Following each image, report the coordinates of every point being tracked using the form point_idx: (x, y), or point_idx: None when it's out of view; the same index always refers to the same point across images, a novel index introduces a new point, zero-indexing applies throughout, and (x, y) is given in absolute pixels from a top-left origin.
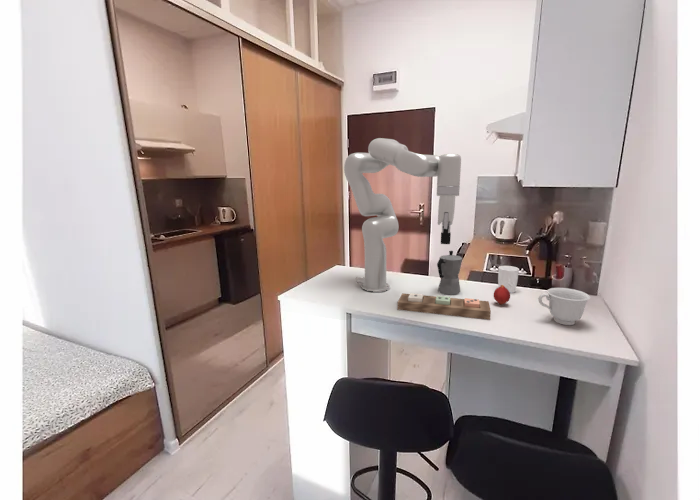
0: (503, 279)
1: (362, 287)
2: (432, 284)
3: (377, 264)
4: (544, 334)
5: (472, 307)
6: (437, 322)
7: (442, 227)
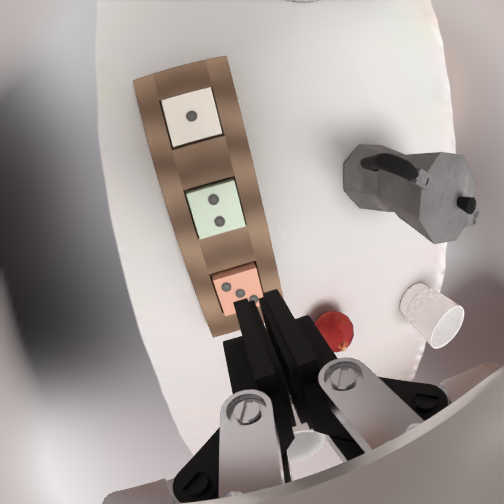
0: (420, 312)
1: None
2: (405, 116)
3: None
4: (200, 401)
5: (215, 296)
6: (115, 225)
7: (222, 475)
